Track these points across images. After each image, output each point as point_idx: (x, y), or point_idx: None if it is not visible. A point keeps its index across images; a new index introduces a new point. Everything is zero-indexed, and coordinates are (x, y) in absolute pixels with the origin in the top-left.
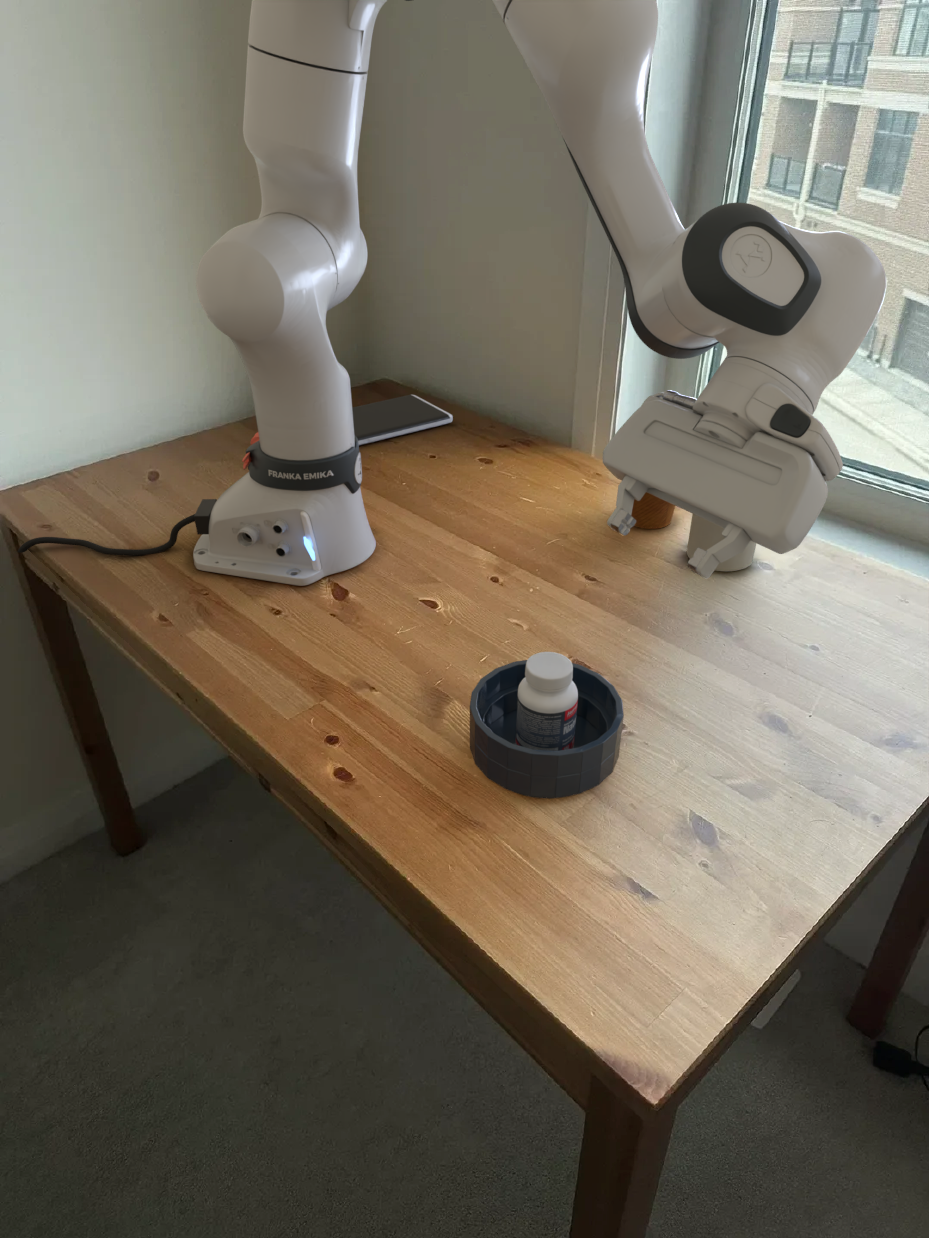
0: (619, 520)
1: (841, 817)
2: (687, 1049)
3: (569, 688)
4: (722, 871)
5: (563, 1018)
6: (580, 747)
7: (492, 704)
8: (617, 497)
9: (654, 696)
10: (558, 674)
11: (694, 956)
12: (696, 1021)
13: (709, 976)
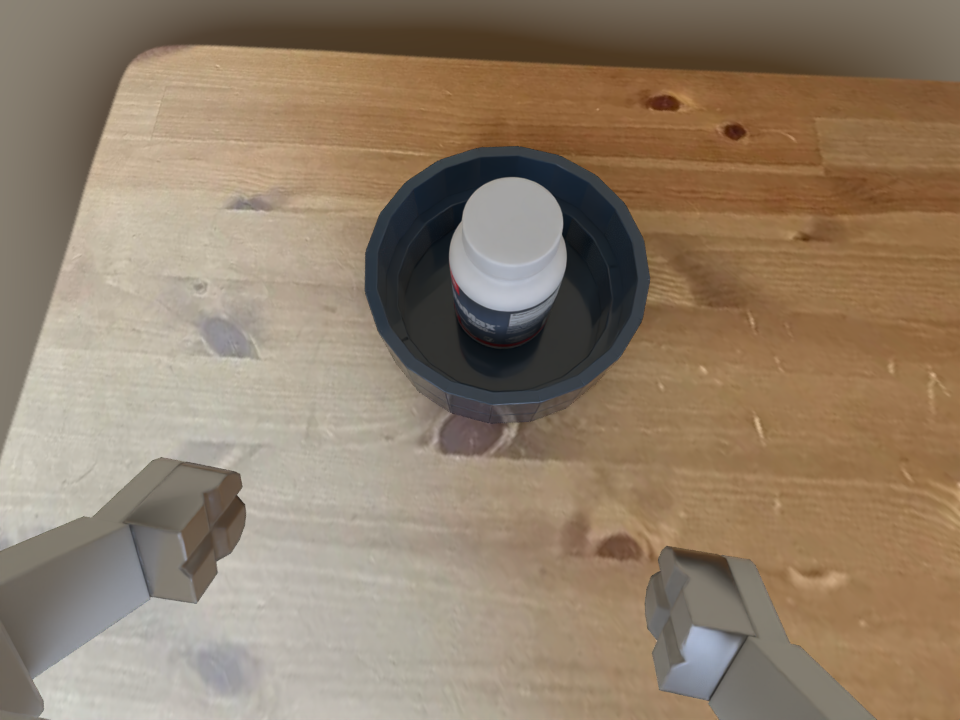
0: (696, 574)
1: (54, 507)
2: (123, 92)
3: (469, 261)
4: (175, 293)
5: (238, 47)
6: (388, 218)
7: (607, 270)
8: (850, 697)
9: (449, 567)
10: (476, 208)
11: (156, 173)
12: (126, 118)
13: (133, 164)
